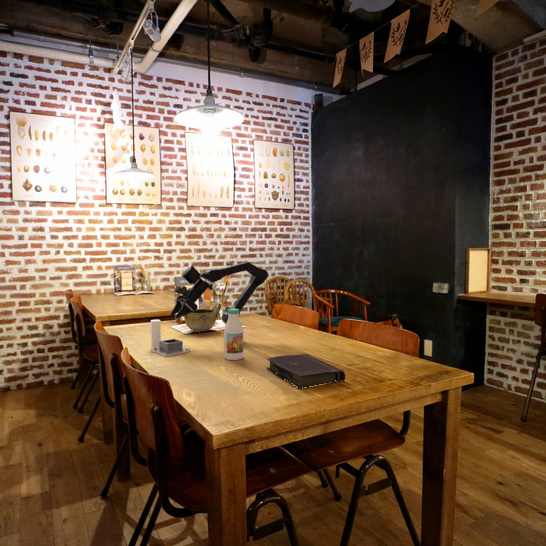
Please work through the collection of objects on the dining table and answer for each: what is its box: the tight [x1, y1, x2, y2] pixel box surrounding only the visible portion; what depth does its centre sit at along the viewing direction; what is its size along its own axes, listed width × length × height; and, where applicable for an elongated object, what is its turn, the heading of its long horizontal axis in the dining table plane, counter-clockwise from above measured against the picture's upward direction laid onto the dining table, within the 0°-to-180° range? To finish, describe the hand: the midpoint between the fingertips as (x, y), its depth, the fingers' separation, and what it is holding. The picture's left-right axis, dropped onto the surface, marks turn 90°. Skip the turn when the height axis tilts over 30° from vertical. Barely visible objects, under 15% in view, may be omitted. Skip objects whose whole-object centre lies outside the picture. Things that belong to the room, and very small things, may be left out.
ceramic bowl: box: [182, 302, 222, 333], centre depth 228 cm, size 22×17×15 cm
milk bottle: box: [223, 309, 244, 361], centre depth 173 cm, size 8×8×20 cm
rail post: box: [150, 319, 162, 350], centre depth 190 cm, size 4×4×12 cm
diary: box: [266, 353, 346, 390], centre depth 151 cm, size 19×25×5 cm
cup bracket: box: [151, 338, 191, 357], centre depth 184 cm, size 12×12×4 cm
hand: (173, 316), depth 194 cm, fingers open, 9 cm apart
